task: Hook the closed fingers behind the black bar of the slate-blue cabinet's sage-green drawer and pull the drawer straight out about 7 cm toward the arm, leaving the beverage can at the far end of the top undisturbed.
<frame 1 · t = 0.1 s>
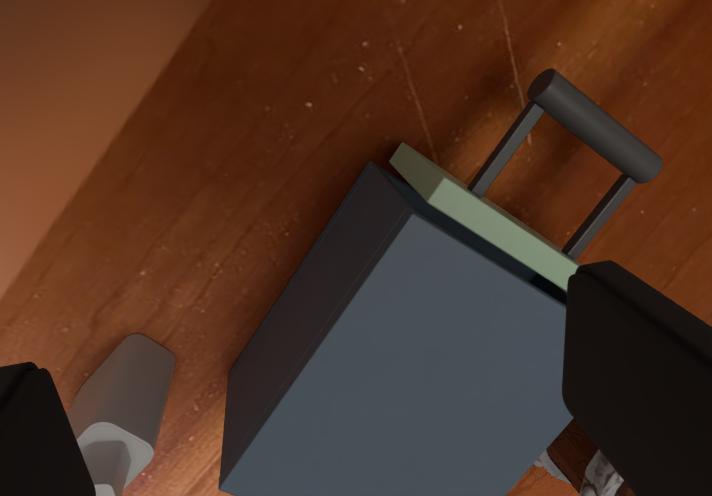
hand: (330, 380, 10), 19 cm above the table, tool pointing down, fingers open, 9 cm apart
mug: (609, 394, 37), on the table
power adapter: (128, 375, 31), on the table
drawer: (466, 282, 27), point 4 cm above the table, slide at 0.5 cm
cabinet: (387, 321, 32), on the table
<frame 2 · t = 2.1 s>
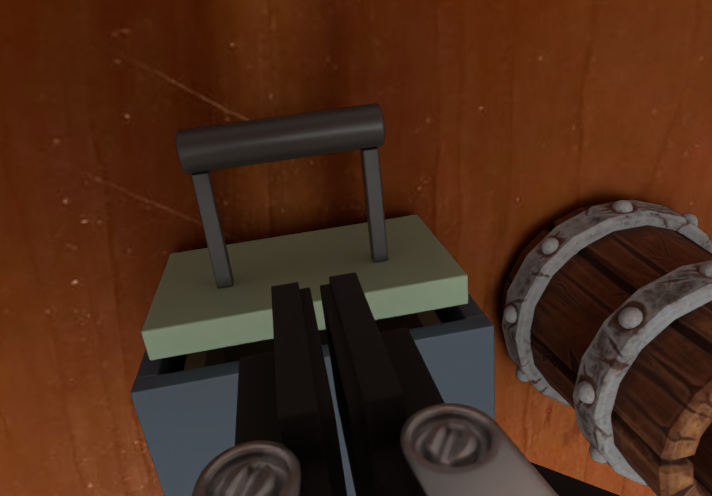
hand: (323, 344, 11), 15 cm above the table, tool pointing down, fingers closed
mug: (615, 282, 30), on the table
drawer: (314, 342, 23), point 4 cm above the table, slide at 0.5 cm
cabinet: (320, 381, 29), on the table
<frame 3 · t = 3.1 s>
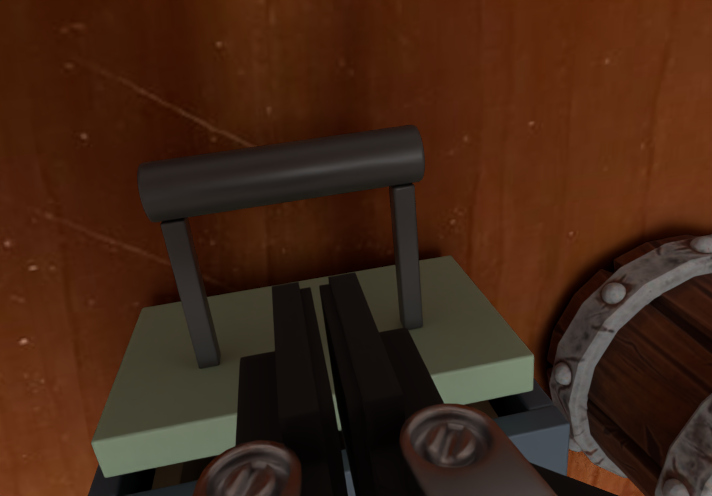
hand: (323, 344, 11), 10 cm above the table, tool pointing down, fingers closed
mug: (680, 328, 26), on the table
drawer: (325, 423, 18), point 4 cm above the table, slide at 0.5 cm
cabinet: (328, 449, 24), on the table
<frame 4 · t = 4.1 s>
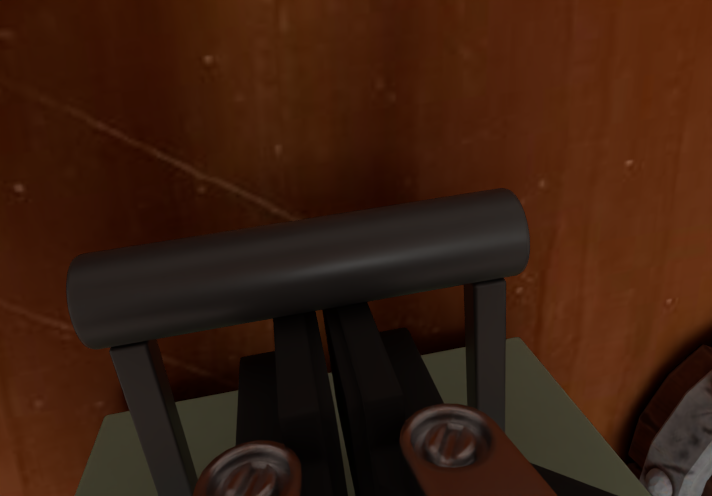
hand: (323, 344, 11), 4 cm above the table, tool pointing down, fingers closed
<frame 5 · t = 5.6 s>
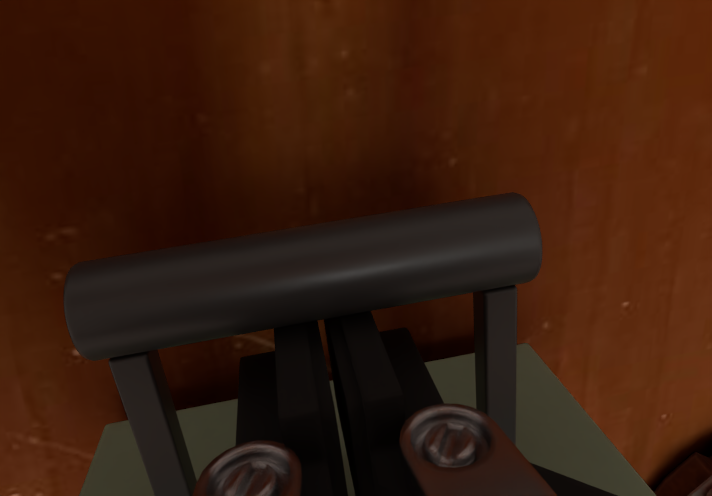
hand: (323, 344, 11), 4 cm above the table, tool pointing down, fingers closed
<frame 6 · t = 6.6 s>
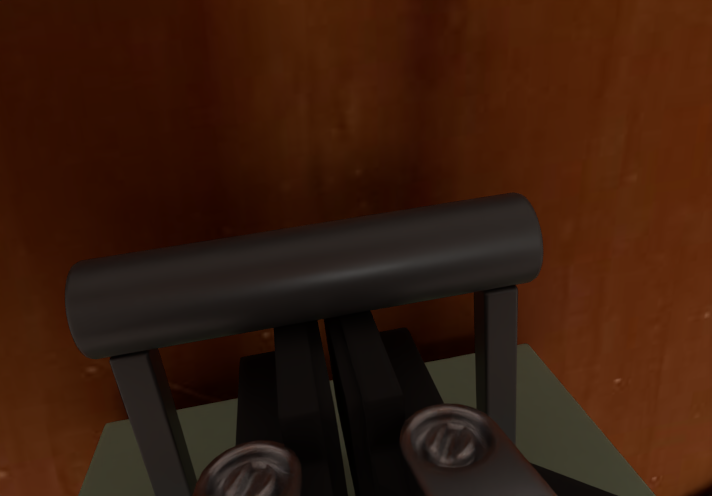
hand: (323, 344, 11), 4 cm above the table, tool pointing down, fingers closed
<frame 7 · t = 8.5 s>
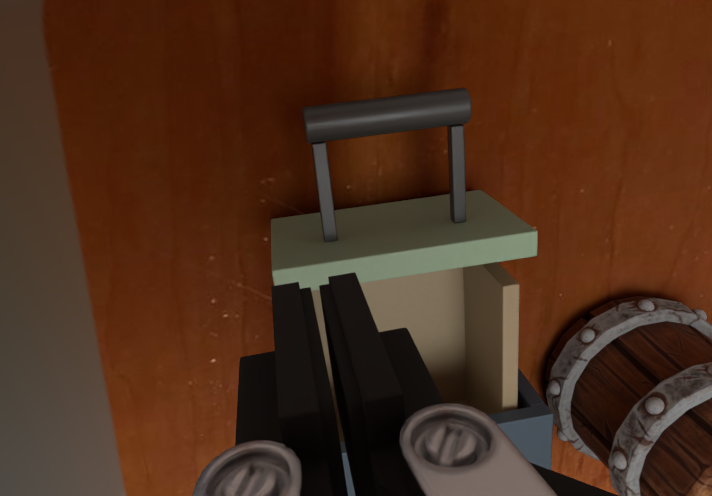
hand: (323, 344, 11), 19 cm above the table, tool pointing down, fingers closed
mug: (638, 357, 37), on the table
drawer: (396, 295, 27), point 4 cm above the table, slide at 7.9 cm
cabinet: (395, 436, 36), on the table
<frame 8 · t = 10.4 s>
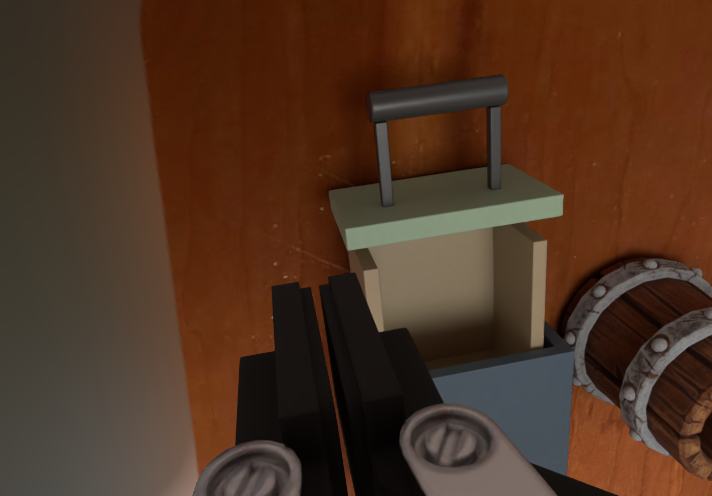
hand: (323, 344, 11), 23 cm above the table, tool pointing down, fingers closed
mug: (642, 313, 42), on the table
drawer: (439, 253, 32), point 4 cm above the table, slide at 7.9 cm
cabinet: (429, 385, 41), on the table
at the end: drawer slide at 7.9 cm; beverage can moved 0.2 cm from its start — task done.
